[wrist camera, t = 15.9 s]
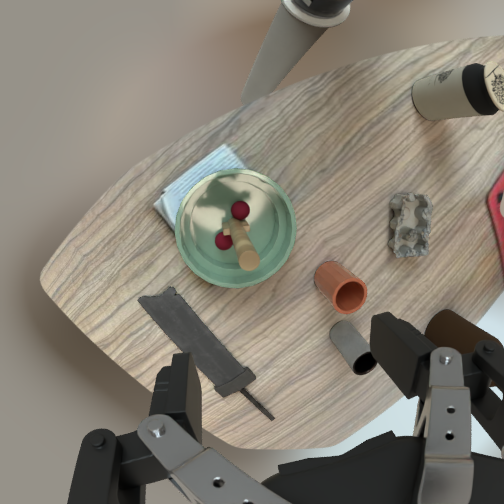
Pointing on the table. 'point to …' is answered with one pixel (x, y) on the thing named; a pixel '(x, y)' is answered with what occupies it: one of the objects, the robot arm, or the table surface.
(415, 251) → the egg carton
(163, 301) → the toy broadsword
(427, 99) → the travel mug
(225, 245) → the bead
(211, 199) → the bowl
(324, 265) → the utensil pot
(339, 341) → the grey tube
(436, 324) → the olive oil
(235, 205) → the bead
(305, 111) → the table surface
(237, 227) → the wooden stick
